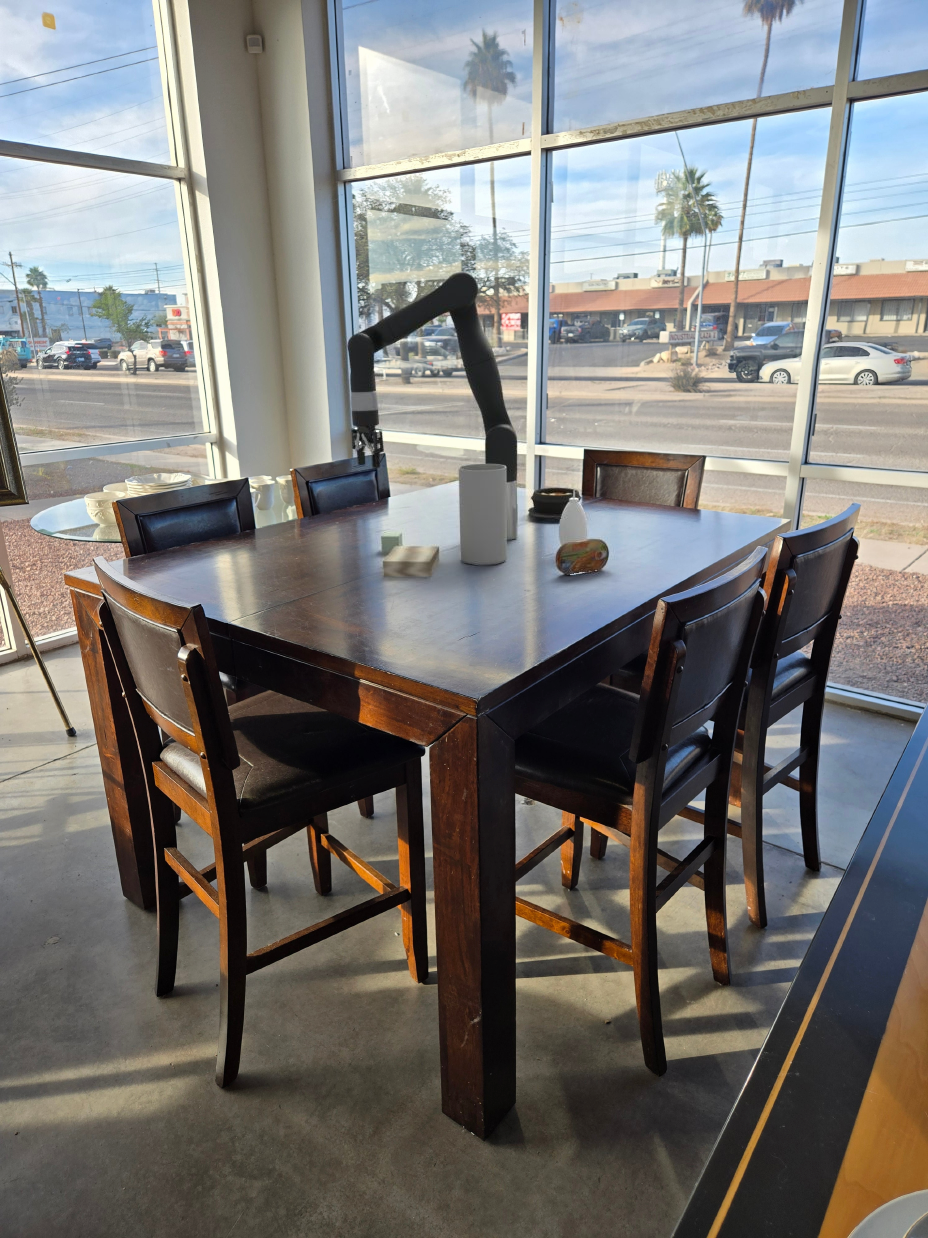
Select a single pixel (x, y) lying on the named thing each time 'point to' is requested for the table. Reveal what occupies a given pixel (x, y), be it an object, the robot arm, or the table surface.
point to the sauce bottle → (573, 522)
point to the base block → (411, 561)
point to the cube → (391, 541)
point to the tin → (582, 556)
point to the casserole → (551, 502)
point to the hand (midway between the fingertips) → (368, 466)
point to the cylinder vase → (483, 513)
